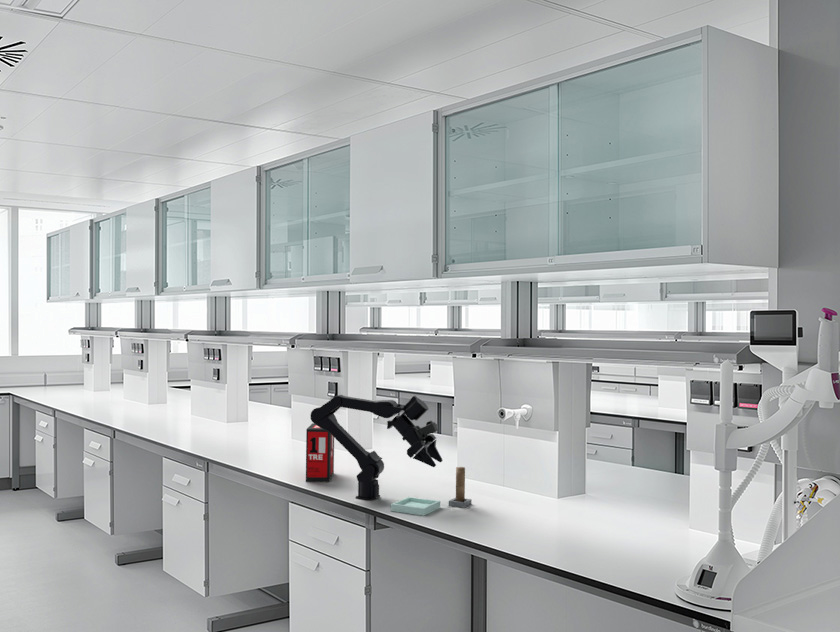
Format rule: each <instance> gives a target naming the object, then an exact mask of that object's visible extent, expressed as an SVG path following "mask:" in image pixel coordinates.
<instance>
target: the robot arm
mask: <svg viewBox="0 0 840 632" xmlns="http://www.w3.org/2000/svg"><path fill="white" fill-rule="evenodd" d="M340 408H344V409H345V408H346V409H350V410H351V409H352V410H357V411H364V412H367V413H368V412H369V413H371V414H374V415H375V416H378V417H380V418H383V419H388V420H387V422H386V424H387V425H386V426H387V427H386V429H387V430H389V429H392V428H393V427H394V429H395V431H397V433H399V435H401V437H402V440H403V441H406V442H407V443H408V445H410V446H409V447H408V449H406V455H408V457H409V458H410V459H413V460H416V461H419V462H420V463H424V464H426V465H427V466H430V467H432V468H435V467H436V466H437V464H436V463H435V461H436V462H439V463H442V462H443V458H442V456H441V454H440V452H439V450H438V448H437V446H436V445H437V437H436V436H435V435H434V434H435V433H436V432H439V429H438V424H437V423H436V421H433V420H429V421H426V422H425V423H426V425H424V426H423V427H420V425H415V423H413V421H416V422H417V421H418V420H420V418H421V417H423V415H425V414H426V413H427V412H428V410H429V407H428V405H427V404H426V403H425V402H424V400H422V399H420V398H418V397H417V396H416V395H413V396H412V397H411V398H410V400H409V401H407V402H406V403H405V404H400V403H397V401H395V400H393V399H382V400H371V399H365V398H364V399H363V398H357V397H352V396H346V395H343V394H338V395H335V396H334V397H332V398H330V399H329V400H328V401H327V402H326V403H324V404H322V406H319V407H316V408H315V407H314V408H313V409H312V411H310V420H311V423H314V424H316V425H317V426H319V427H320V428H322V429H324V430H326V431H328V432H329V433H330V434H331V435H332V436H333V437H334V440H336V441H337V442H338V443H339V444H340V445H341V446H342V447H343V448H344V449H345V450H346V451H348V453H349V454H350V455H352V457H353V458H354V459H355V460H356V462H357V464H358V467H359V468H360V470H361V471H360V472H359V473H357V475H356V480H357V482H358V483H357V495H356V496H355V499H361V500H368V501H372V500H375V499H378V498H380V497H381V494H380V484H379V480H378V478H379V476H380V474H382V473H383V472H384V469H385V462H384V461H383V458H382V457H380V455H379V454H378V453H377V452H376V451H375V450H373V451H371V452H369V451H368V450H366V449H365V448H364V447H363V446H362V445H361V444H360V443H359V442H358V441H357V440H356V439H355V438H354V437H353V436H352V435H351V434H350V433H349V432H348V431H347V430H346V429H345V428H344V427H343V426H342V425H341V424H340V423H339V422H338V419H337V417H336V415H335V413H336V412H337V411H338V410H339V409H340ZM400 413H401V415H397V414H400ZM392 417H393V419H391V418H392ZM390 419H391V420H390ZM433 459H434V460H435V461H434V460H433Z"/></svg>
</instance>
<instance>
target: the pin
mask: <svg viewBox="0 0 840 632" xmlns="http://www.w3.org/2000/svg"><path fill="white" fill-rule="evenodd" d="M465 481H466V467H465V466H457V467H456V468H455V498H456V501H460V502H464V501H465V499H466V495H465V494H466V493H465V492H466V490H465V489H466V488H465V487H466V482H465Z"/></svg>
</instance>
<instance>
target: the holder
mask: <svg viewBox="0 0 840 632" xmlns="http://www.w3.org/2000/svg"><path fill="white" fill-rule="evenodd" d="M470 505H472V499H471V498H465V501H464V502H460V501H456V497H453V498H451V499H449V500H448V506H449V507H456V508H463V509H465V508H467V507H469V506H470Z"/></svg>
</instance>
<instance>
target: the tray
mask: <svg viewBox="0 0 840 632" xmlns="http://www.w3.org/2000/svg"><path fill="white" fill-rule="evenodd" d="M439 509H441V500H436V499H435V500H434V499H428V498H419V497H413V496H407V497H405V498H402V499H400V500H397V501H395V502H392V503H391V504H390V512H397V513H401V514H402V513H404V514H410V515H416V516H423V517H424V516H426V515H428V514H430V513H432V512H434V511H436V510H439Z"/></svg>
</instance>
